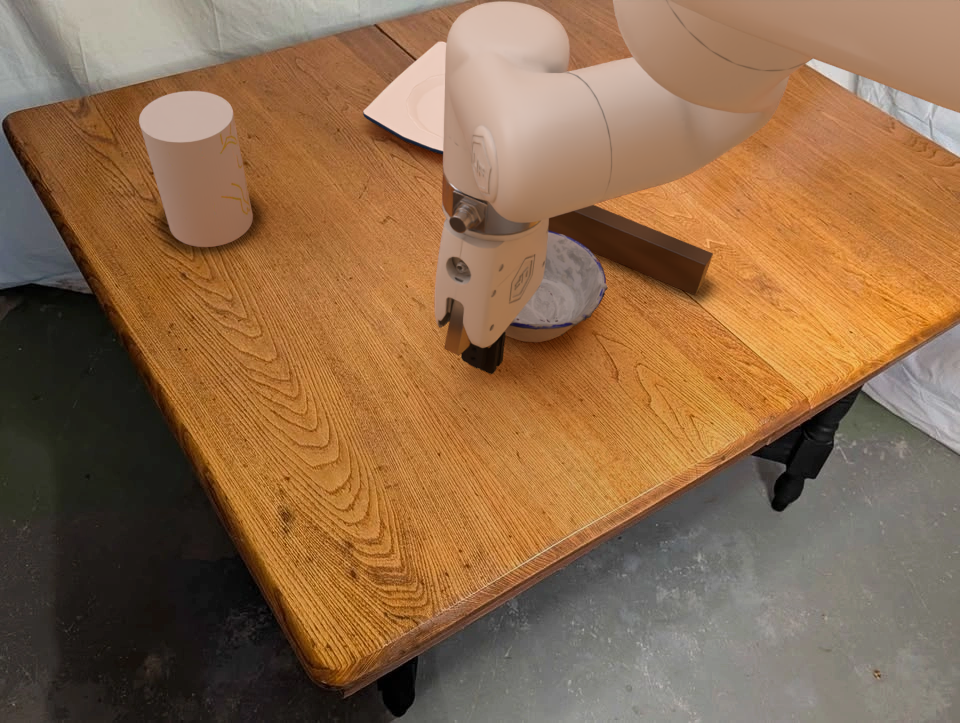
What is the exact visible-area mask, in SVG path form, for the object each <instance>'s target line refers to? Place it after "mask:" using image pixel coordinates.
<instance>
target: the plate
mask: <svg viewBox="0 0 960 723" xmlns="http://www.w3.org/2000/svg"><path fill="white" fill-rule="evenodd" d="M446 43H447V41H446V42H445V41H437V42H436V43H435V44H434V45H433V46H431V47H430V48H429V49H428V50H427V51H425V52H424V53H422V55H421V56H420V57H418V58H417V59H416V60H415V61H414V62H413V63H411V64H410V65H409V66H408V67H407V68H405V70H404V71H403V72H401V73H400V74H399V75H398V76H396V78H394V79H393V81H391V83H389V84H388V85H387V86H385V88H384V90H382V91H381V92H380V93H379V94H378V95H377V96H376V97H375V98H374V99H373V101H371V102H370V104H368V106H366V108H364V109H363V111H362V115H363V117H364V118H365V119H366V120H368V121H369V122H371V123H372V124H374V125H376V126H378V127H379V128H381V129H382V130H385V131H386V132H388V133H389V134H391V135H393V136H394V137H397V139H399V140H401V141H403V142H405V143H408V144H411V145H413V146H414V147H415V146H416V147H418V148H420V149H423V150H426V151H429V152H431V153H435V154H438V155H441V156H443V140H444V100H445V60H446Z"/></svg>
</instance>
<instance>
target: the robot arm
mask: <svg viewBox="0 0 960 723" xmlns="http://www.w3.org/2000/svg"><path fill="white" fill-rule="evenodd" d="M612 4H613V5H612V6H613V11H614V16H615V20H616V23H617V27H618V30H619V32H620V33H619V34H620V35H621V37H622V40H623V42H624V44H625V46H626V48H627V49H628V51H629V53H630V55H631V57H626V58H621V59H616V60H611V61H608V62H603V63H598V64H595V65H591V66H585V67H581V68H577V69H573V70H569V66H570V59H571V45H570V39H569V36H568V32H567V30H566V29H565V27H564V26H563V24H562V23H561V22H560V20H558V19H557V18H556V17H555V16H553V15H552V14H551V13H550V12H548V11H547V10H544V9H543V8H540V7H538V6H534V5H533V4H529V3H524V2H520V1H519V2H518V1H509V0H507V1H503V0H501V1H490V2H489V1H488V2H484V3H481V4H477V5H475V6H473V7H471V8H469V9H467V10H465V11H463V12H462V13H461V14H460V15H458V17H457V18H456V19H455V20H454V21H453V23H452V24H451V27H450V29H449V30H448V33H447V37H446V60H445V100H444V140H443V155H442V179H441V180H442V182H441V183H442V184H441V209H442V213H443V215H444V218H445V220H444V222H443V225H442V231H441V236H440V242H439V249H438V256H437V264H436V271H435V283H434V284H435V285H434V303H433V304H434V318H435V323H436V325H437V326H438V328H440V329H441V328H443V327H445V326H446V325H447V324H448V326H447V333H446V337H445V342H444V350H446V351H448V352H450V353H452V354H454V355H456V356H460V358H461V361H463V362H464V363H466V364H467V365H469V366H471V367H472V368H474V369H478V370H480V371H483V372H484V373H487V374H489V375H494V373H495V372H496V371H497V367H499V366H501V364H502V363H503V361H504V351H505V344H506V336H507V335H506V332H504V331H505V330H506V329H507V327H508V326H509V325H510V324H511V322H512V321H513V320H514V319H515V317H516V316H517V315H518V314H519V312H520V311H521V310H522V309H523V307H524V306H525V305H526V304H527V302H528V301H529V300H530V298H531V297H532V296H533V294H534V293H535V292H536V290H537V289H538V287H539V286H540V284H541V282H542V280H543V276H544V270H545V261H546V252H547V241H548V226H549V218H551V217H555V216H558V215H561V214H565V213H568V212H571V211H575V210H578V209H582V208H585V207H588V206H592V205H596V204H599V203H603V202H606V201H610V200H614V199H617V198H621V197H624V196H628V195H631V194H634V193H638V192H641V191H645V190H650V189H652V188H657V187H660V186H664V185H666V184H669V183H673V182H675V181H679V180H680V179H683V178H685V177H687V176H689V175H691V174H694V173H695V172H697V171H699V170H701V169H703V168H704V167H706V166H707V165H709V164H710V163H712V162H714V161H716V160H717V159H719V158H720V157H722V156H723V155H724V154H726V153H728V152H730V151H731V150H732V149H734V148H736V147H737V146H739V145H740V144H742V143H744V142H745V141H747V140H748V139H750V138H751V137H753V135H755V134H757V133H758V132H759V131H760V130H762V128H764V127H765V126H766V125H767V124H768V123H769V122H770V121H771V120H772V118H773V116H774V115H775V113H776V112H777V110H778V109H779V106H780V103H781V101H782V99H783V96H784V94H785V93H786V89H787V86H788V83H789V80H790V76H791V75H792V74H794V73H795V72H797V71H798V70H799V69H800V68H802V67H803V66H805V65H806V64H808V63H809V62H810V61H812V60H816V61H818V62H821V63H824V64H827V65H829V66H832V67H835V68H838V69H840V70H843V71H845V72H848V73H852V74H854V75H857V76H860V77H863V78H865V79H868V80H870V81H873V82H875V83H878V84H880V85H883V86H886V87H888V88H891V89H894V90H897V91H898V92H901V93H903V94H907V95H909V96H912V97H914V98H917V99H920V100H923V101H924V102H927V103H930V104H933V105H936V106H938V107H941V108H943V109H947V110H949V111H952V112H955V113H958V114H960V0H612Z"/></svg>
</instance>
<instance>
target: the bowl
mask: <svg viewBox="0 0 960 723" xmlns="http://www.w3.org/2000/svg"><path fill="white" fill-rule="evenodd" d="M608 288H609V287H608V284H607V277H606V274H605V270H604V267H603V266H602V264H601V262H600V259H598V258H597V257H596V256H595V254H594V252H592V251H590V250H589V249H588V248H587V247H586V246H584V245H583V244H581V243H580V242H578V241H576V240H574V239H572V238H570V237H567V236H565V235H563V234H558V233H556V232H552V231H549V230H548V241H547V252H546V261H545V270H544V276H543V280H542V282H541V284H540V286H539V287H538V289H537V290H536V292H535V293H534V294H533V296H532V297H531V298H530V300H529V301H528V302H527V304H526V305H525V306H524V307H523V309H522V310H521V311H520V312H519V314H518V315H517V316H516V317H515V319H514V320H513V321H512V322H511V324H510V325H509V326H508V327H507V329H506V330H505V331H504V332H506V335H505V336H507V337H509V338H511V339H514V340H517V341H519V342H520V341H521V342H523V343H524V342H526V343H542V342H546V341H551V340H553V339H556V338H558V337H561V336H564V335H565V333H567V332H568V331H569V330H571V329H572V328H573V327H576V326H578V324H580V323H581V322H584V321H586V320H587V319H590V318H591V317H592V315H593V314H594V312H595V310H597V309H598V308H599V306H600V304H601V302H602V301H603V298H604V296H605V294H606V291H607V290H608Z"/></svg>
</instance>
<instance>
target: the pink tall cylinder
mask: <svg viewBox="0 0 960 723" xmlns="http://www.w3.org/2000/svg"><path fill="white" fill-rule="evenodd" d="M138 123H139V127H140V131H141V135H142V137H143V141H144V144H145V148H146V151H147V155H148V158H149V162H150V165H151V168H152V172H153V176H154V179H155V183H156V185H157V189H158V193H159V196H160V200H161V204H162V207H163V211H164V213H165V217H166V220H167V225H168V228H169V231H170V233H171V234H172V236H173V237H174V238H175V239H176V240H178V241H179V242H181V243H183V244H185V245H188V246H192V247H197V248H213V247H218V246H223V245H226V244H230V243H232V242H234V241H236V240H238V239H240V238H241V237H242V236H243V235H245V234H246V232H248V230H249V229H250V228H251V225H252V223H253V219H254V215H253V210H252V209H253V208H252V204H251V199H250V194H249V189H248V185H247V179H246V173H245V167H244V163H243V162H244V161H243V157H242V152H241V146H240V140H239V136H238V131H237V126H236V120H235V115H234V109H233V107H232V106H231V103H229V101H227V99H225V98H224V97H222V96H220V95H217V94H214V93H211V92H207V91H203V90H202V91H201V90H186V91H185V90H184V91H177V92H171V93H168V94H166V95H162V96H160V97H157V98H156V99H153V100H152V101H151V102H149V103H148V104H147V105H146V106H145V107H144V108H143V109H142V111H141V112H140V114H139V117H138Z"/></svg>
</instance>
